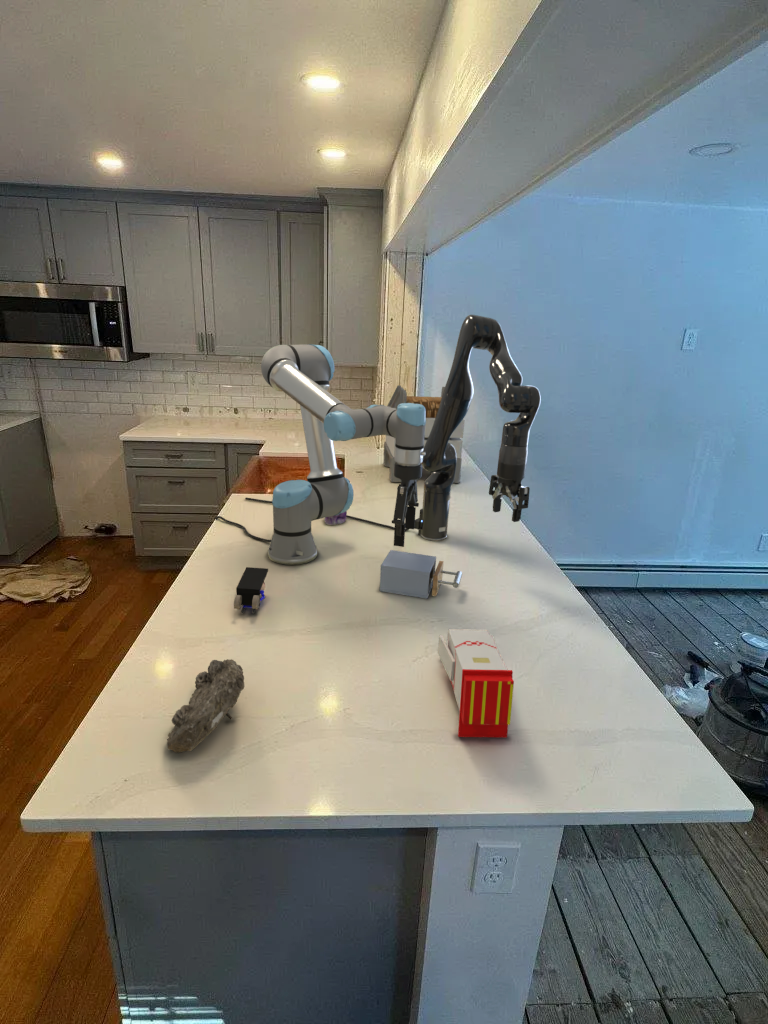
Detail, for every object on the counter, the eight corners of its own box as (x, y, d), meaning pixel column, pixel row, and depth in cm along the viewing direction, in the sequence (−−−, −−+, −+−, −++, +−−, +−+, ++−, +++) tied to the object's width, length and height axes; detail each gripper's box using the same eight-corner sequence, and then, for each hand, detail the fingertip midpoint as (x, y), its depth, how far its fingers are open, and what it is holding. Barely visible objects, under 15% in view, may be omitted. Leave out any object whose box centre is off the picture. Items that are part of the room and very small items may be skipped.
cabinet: (434, 581, 166) (436, 556, 163) (427, 598, 156) (429, 572, 153) (389, 574, 169) (390, 549, 166) (379, 591, 159) (380, 565, 156)
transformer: (382, 463, 289) (386, 382, 275) (445, 464, 293) (451, 384, 279) (390, 482, 257) (394, 392, 243) (460, 483, 261) (468, 394, 247)
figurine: (328, 527, 202) (328, 487, 197) (317, 518, 211) (318, 479, 206) (352, 524, 206) (353, 484, 201) (341, 515, 215) (342, 477, 210)
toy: (488, 613, 130) (523, 677, 101) (484, 667, 133) (517, 744, 104) (435, 612, 130) (455, 676, 101) (432, 666, 133) (451, 743, 103)
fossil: (192, 660, 117) (244, 628, 112) (224, 691, 120) (276, 661, 115) (142, 746, 98) (202, 712, 93) (182, 779, 101) (242, 748, 96)
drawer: (461, 583, 163) (463, 564, 161) (457, 599, 154) (459, 579, 152) (400, 574, 168) (401, 555, 165) (392, 589, 158) (393, 569, 156)
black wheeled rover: (260, 622, 143) (270, 588, 156) (258, 597, 140) (268, 565, 153) (233, 621, 143) (245, 588, 156) (231, 597, 139) (243, 564, 153)
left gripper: (412, 476, 138) (407, 556, 146) (430, 453, 161) (426, 523, 168) (383, 473, 140) (379, 551, 147) (405, 451, 163) (401, 520, 170)
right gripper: (541, 465, 149) (533, 523, 155) (506, 453, 161) (500, 506, 167) (518, 468, 146) (511, 526, 152) (485, 455, 158) (479, 509, 164)
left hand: (404, 536), depth 158 cm, fingers open, 13 cm apart
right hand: (505, 516), depth 159 cm, fingers open, 8 cm apart
